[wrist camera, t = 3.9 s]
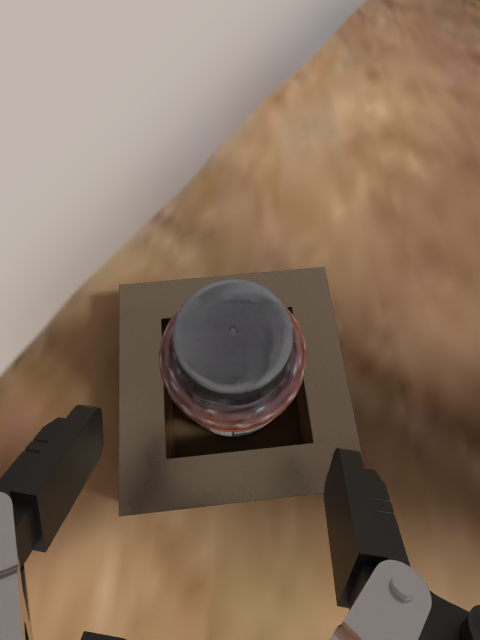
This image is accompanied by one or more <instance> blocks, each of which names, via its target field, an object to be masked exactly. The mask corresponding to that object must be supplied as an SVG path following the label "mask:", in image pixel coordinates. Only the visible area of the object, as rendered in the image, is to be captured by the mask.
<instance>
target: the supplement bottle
mask: <svg viewBox="0 0 480 640" xmlns="http://www.w3.org/2000/svg"><path fill="white" fill-rule="evenodd" d="M306 365H307V349H306V344H305V340H304V336H303V333H302V330H301V328H300V326H299V324H298V322H297V321H296V319H295V317H294V316H293V314H292V313H291V312H290V311H289V310H288V309H287V308H286V307H285V306H284V305H283V303H282V302H281V300H280V299H279V298H278V297H277V296H276V295H275V294H274V293H272V292H271V291H270V290H268V289H267V288H266V287H264V286H262V285H260V284H258V283H255V282H252V281H249V280H244V279H236V278H235V279H230V278H229V279H222V280H217V281H214V282H211V283H209V284H206V285H204V286H202V287H201V288H199V289H198V290H196V291H195V292H193V293H192V295H190V296H189V297H188V298H187V299H186V300H185V302H184V303H183V305H182V306H181V307H180V308H179V309H178V310H177V311H176V312H175V314H174V315H173V317H172V318H171V319H170V321H169V323H168V325H167V326H166V329H165V331H164V333H163V336H162V339H161V345H160V351H159V366H160V372H161V377H162V379H163V383H164V386H165V387H166V389H167V391H168V394H169V396H170V397H171V398H172V400H173V401H174V402H175V403H176V405H177V406H178V407H179V408H180V409H181V410H182V411H183V412H184V413H185V414H186V415H187V416H188V417H189V418H191V419H192V420H194V421H195V422H196V423H198V424H199V425H200V426H201V427H202V429H203V430H204V429H206V430H208V431H210V432H213V433H215V434H218V435H222V436H229V437H241V436H245V435H249V434H252V433H254V432H256V431H258V430H260V429H261V428H263V427H264V426H265V425H267V424H268V423H269V422H271V421H272V420H273V419H274V418H276V417H277V416H278V415H280V414H281V413H282V412H283V411H284V410H285V409H286V408H287V407H288V406H289V405H290V403H291V402H292V401H293V399H294V398H295V396H296V395H297V393H298V391H299V389H300V387H301V385H302V382H303V379H304V375H305V371H306Z"/></svg>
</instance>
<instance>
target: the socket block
mask: <svg viewBox="0 0 480 640" xmlns="http://www.w3.org/2000/svg"><path fill="white" fill-rule="evenodd" d="M229 278H230V279H235V278H236V279H244V280H249V281H252V282H255V283H258V284H260V285H262V286H264V287H266V288H267V289H268V290H270V291H271V292H272V293H274V294H275V295H276V296H277V297H278V298H279V299H280V300H281V302H282V303H283V305H284V306H285V307H286V308H287V309H288V310H289V311H290V312H291V313H292V314H293V316H294V317H295V319H296V321H297V322H298V324H299V326H300V328H301V330H302V333H303V336H304V340H305V344H306V349H307V365H306V371H305V375H304V379H303V382H302V385H301V387H300V389H299V391H298V393H297V395H296V398H297V404H298V411H299V418H300V424H301V431H302V437H303V444H301V445H292V446H282V447H273V448H264V449H255V450H246V451H237V452H228V453H219V454H210V455H201V456H191V457H182V458H175V445H174V422H173V400H172V398H171V397H170V396H169V394H168V391H167V389H166V387H165V386H164V383H163V379H162V377H161V372H160V366H159V351H160V345H161V339H162V336H163V333H164V331H165V329H166V326H167V325H168V323H169V321H170V319H171V318H172V317H173V315H174V314H175V312H176V311H177V310H178V309H179V308H180V307H181V306H182V305H183V303H184V302H185V300H186V299H187V298H188V297H189V296H190V295H192V293H193V292H195V291H196V290H198V289H199V288H201V287H202V286H204V285H206V284H209V283H211V282H214V281H217V280H222V279H229ZM336 448H341V449H347V450H354V451H359V452H360V453H361V456H362V452H361V447H360V442H359V437H358V432H357V427H356V422H355V417H354V412H353V407H352V402H351V397H350V392H349V387H348V382H347V377H346V372H345V367H344V362H343V357H342V352H341V347H340V342H339V337H338V332H337V327H336V321H335V316H334V311H333V306H332V301H331V296H330V291H329V286H328V281H327V276H326V271H325V267H320V268H308V269H297V270H285V271H274V272H262V273H251V274H240V275H228V276H217V277H205V278H194V279H182V280H171V281H160V282H148V283H137V284H125V285H119V516H128V515H136V514H145V513H153V512H162V511H171V510H179V509H188V508H196V507H205V506H213V505H222V504H231V503H239V502H248V501H256V500H265V499H274V498H282V497H291V496H299V495H308V494H317V493H324V487H325V481H326V477H327V474H328V471H329V467H330V464H331V461H332V458H333V454H334V451H335V449H336ZM362 460H363V457H362ZM363 464H364V462H363Z"/></svg>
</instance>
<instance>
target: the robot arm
mask: <svg viewBox="0 0 480 640" xmlns="http://www.w3.org/2000/svg"><path fill="white" fill-rule="evenodd" d="M102 448H103V424H102V410H101V409H100V408H96V407H90V406H84V405H77V406H76V407H75V408H74V409H73V410H72V411H71V413H70V414H69V415H68V417H67V418H66V419H65V418H59V417H58V418H57V419H55V420H54V421H52V422H50V423H49V424H47V425H46V426H44V427H43V428H42V429H41V431H40V432H39V433H38V434H37V435H36V437H35V438H34V440H33V441H31V443H30V444H29V445H28V446H27V447H26V449H25V451H23V452H22V453H21V455H20V456H19V457H18V458H17V459H16V461H15V462H14V463H13V464H12V465H11V467H10V468H9V469H8V470H7V471H6V472H5V474H4V475H3V476H2V477H1V478H0V640H33V634H32V626H31V617H30V608H29V599H28V589H27V580H26V571H25V564H24V563H25V561H26V560H27V558H28V556H29V555H30V553H31V551H32V550H35V551H41V552H46V551H47V549H48V547H49V546H50V544H51V542H52V540H53V539H54V537H55V535H56V533H57V532H58V530H59V528H60V526H61V525H62V523H63V521H64V519H65V518H66V516H67V514H68V513H69V511H70V509H71V507H72V506H73V504H74V502H75V500H76V499H77V497H78V495H79V493H80V492H81V490H82V488H83V486H84V485H85V483H86V481H87V479H88V478H89V476H90V474H91V473H92V471H93V469H94V467H95V466H96V464H97V462H98V460H99V458H100V455H101V452H102ZM324 502H325V510H326V518H327V527H328V535H329V543H330V551H331V559H332V567H333V576H334V584H335V592H336V600H337V606H340V607H346V608H349V609H350V611H349V613H348V614H347V616H346V618H345V619H344V621H343V622H342V624H341V625H339V626H338V627H337V628H336V630H335V631H334V633H333V635H332V636H331V638H330V639H329V640H480V605H477V606H475V607H473V608H472V609H471V611H470V612H468V611H466V610H464V609H462V608H460V607H458V606H456V605H454V604H452V603H450V602H448V601H446V600H444V599H442V598H440V597H438V596H437V595H435V594H434V593H432V592H431V591H430V590H429V589H428V587H427V585H426V583H425V582H424V580H423V579H422V578H421V576H420V575H419V574H418V573H417V572H416V571H415V570H413V569H412V568H411V566H410V563H409V561H408V557H407V554H406V551H405V548H404V544H403V541H402V538H401V534H400V531H399V528H398V525H397V521H396V518H395V515H394V514H393V513H394V512H393V508H392V505H391V503H390V499H389V495H388V492H387V489H386V486H385V484H384V482H383V481H382V480H381V478H380V477H379V476H378V474H377V473H376V471H374V470H368V469H365V467H364V464H363V460H362V456H361V453H360V452H359V451H354V450H347V449H341V448H336V449H335V451H334V454H333V458H332V461H331V464H330V467H329V471H328V474H327V477H326V481H325V487H324ZM81 640H126V639H124V638H119V637H113V636H108V635H102V634H97V633H92V632H86V631H84V632H83V635H82V637H81Z"/></svg>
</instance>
